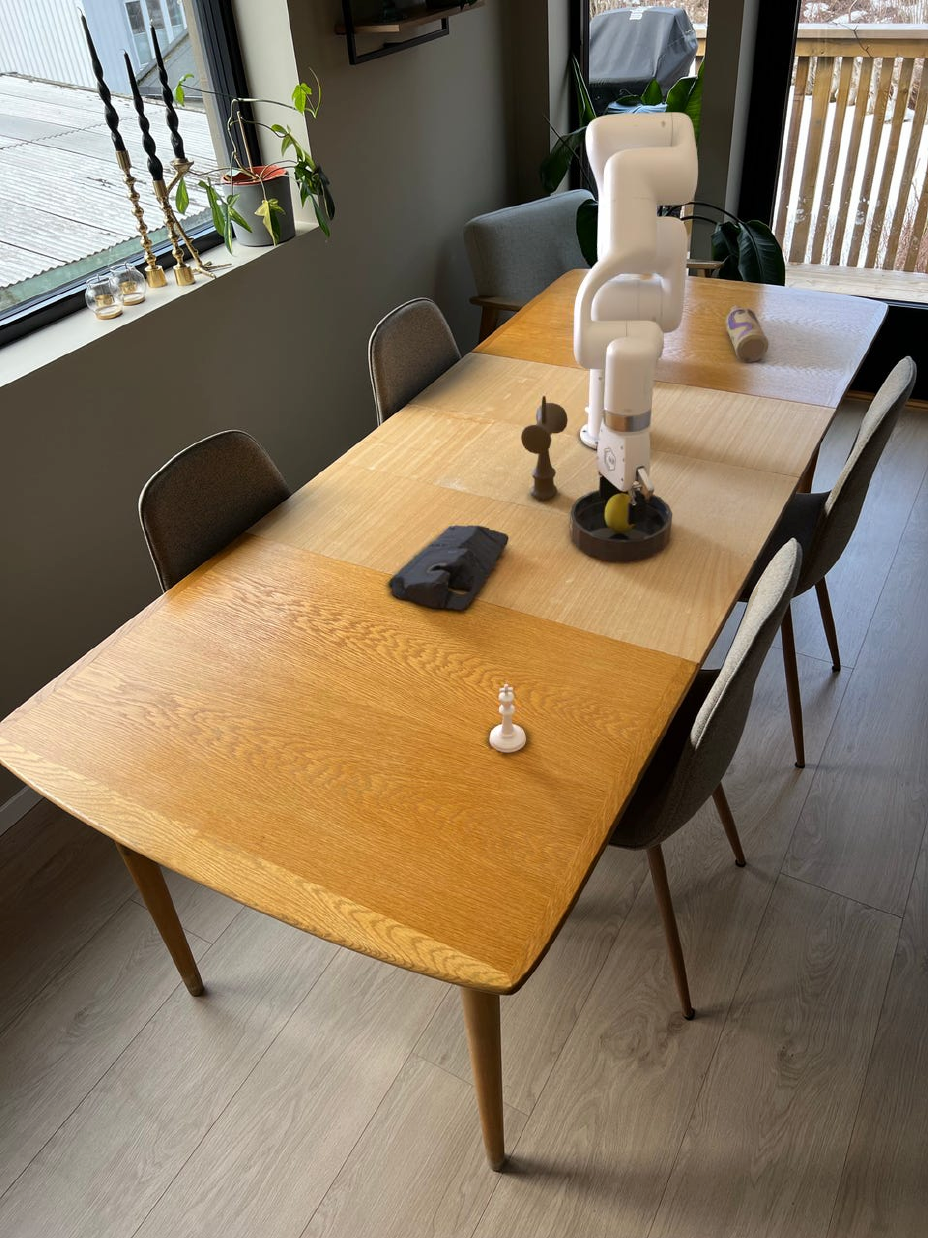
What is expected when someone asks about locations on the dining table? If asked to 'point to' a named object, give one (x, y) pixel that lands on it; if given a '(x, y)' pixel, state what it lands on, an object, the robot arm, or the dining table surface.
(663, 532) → the pan
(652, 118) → the robot arm
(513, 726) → the chess piece
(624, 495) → the lemon
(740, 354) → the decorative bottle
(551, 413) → the kendama
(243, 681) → the dining table surface
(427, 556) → the dark slate chunk
